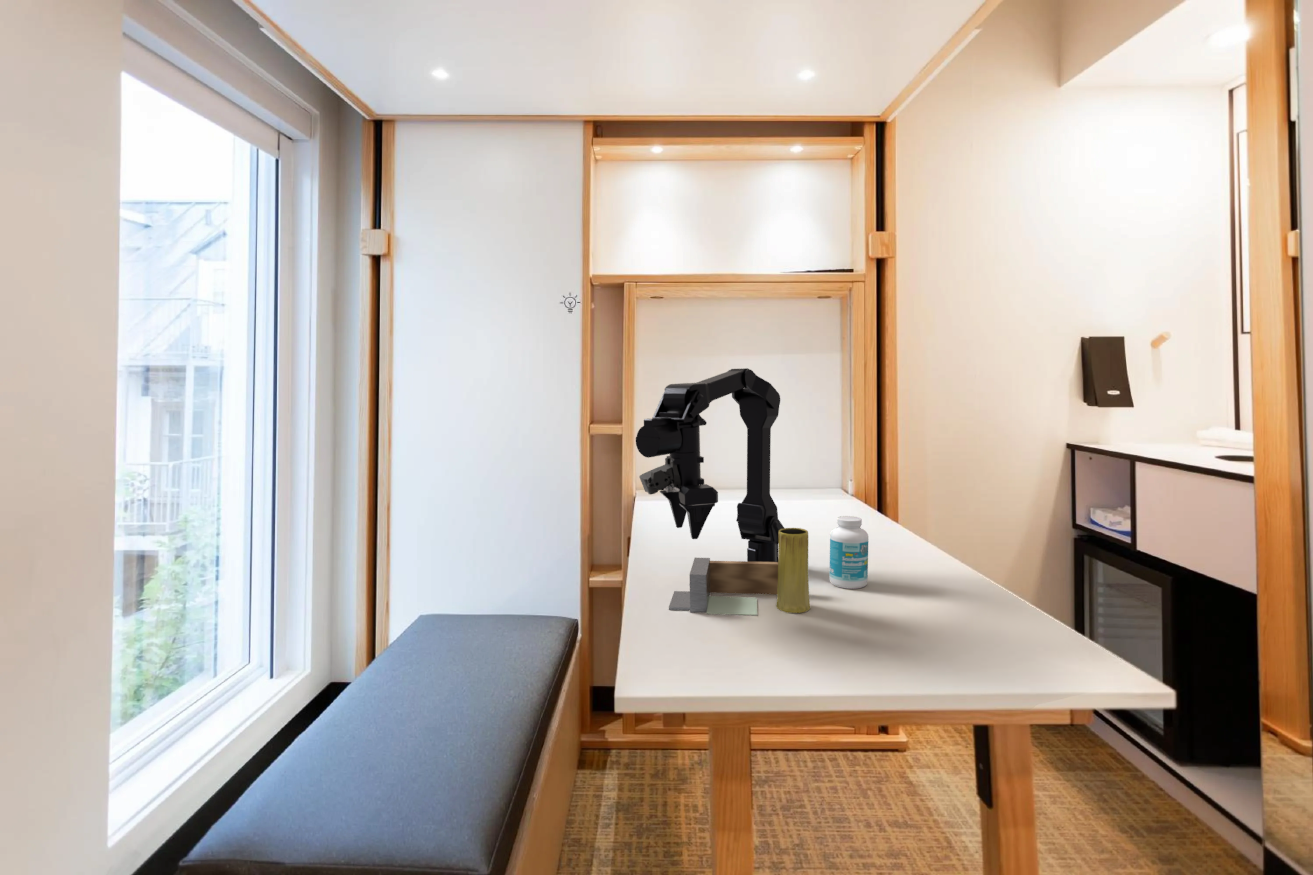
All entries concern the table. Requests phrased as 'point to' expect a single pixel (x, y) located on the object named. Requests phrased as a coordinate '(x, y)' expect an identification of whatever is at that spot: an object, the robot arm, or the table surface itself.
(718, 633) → the table surface
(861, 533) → the pill bottle
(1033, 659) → the table surface
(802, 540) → the vase
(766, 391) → the robot arm
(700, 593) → the bookend
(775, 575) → the back rail
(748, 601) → the mat
